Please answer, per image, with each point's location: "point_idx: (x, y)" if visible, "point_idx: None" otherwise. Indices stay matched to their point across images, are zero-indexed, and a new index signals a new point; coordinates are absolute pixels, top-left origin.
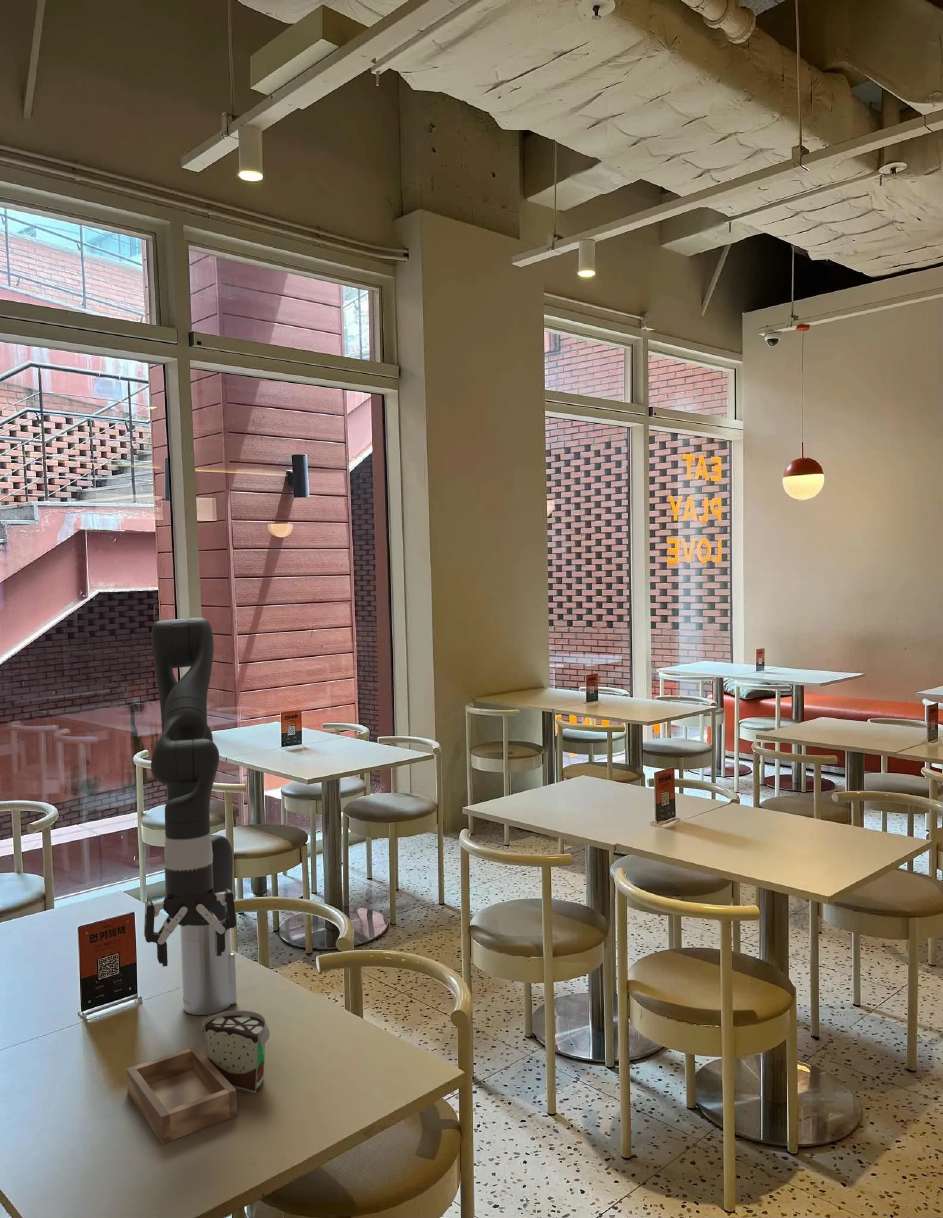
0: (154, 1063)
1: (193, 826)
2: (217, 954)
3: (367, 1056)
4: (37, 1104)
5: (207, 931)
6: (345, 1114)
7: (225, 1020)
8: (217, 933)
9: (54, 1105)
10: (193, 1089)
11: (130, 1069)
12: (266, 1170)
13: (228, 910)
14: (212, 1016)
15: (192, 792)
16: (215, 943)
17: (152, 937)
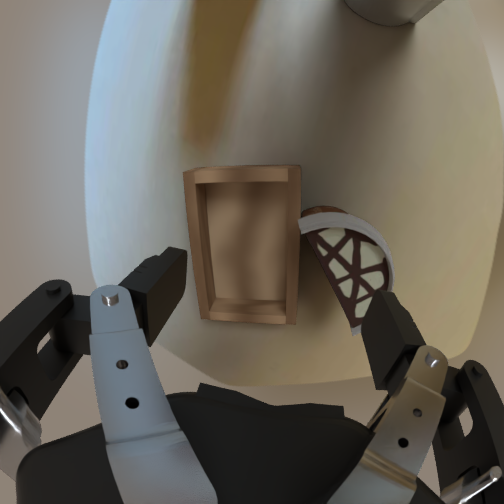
0: (223, 181)
1: None
2: (362, 333)
3: (461, 285)
4: (106, 132)
5: None
6: None
7: (344, 239)
8: (385, 386)
9: (120, 145)
10: (270, 231)
11: (187, 178)
12: (278, 380)
13: (442, 474)
14: (324, 227)
15: None
16: (382, 325)
17: (76, 354)
